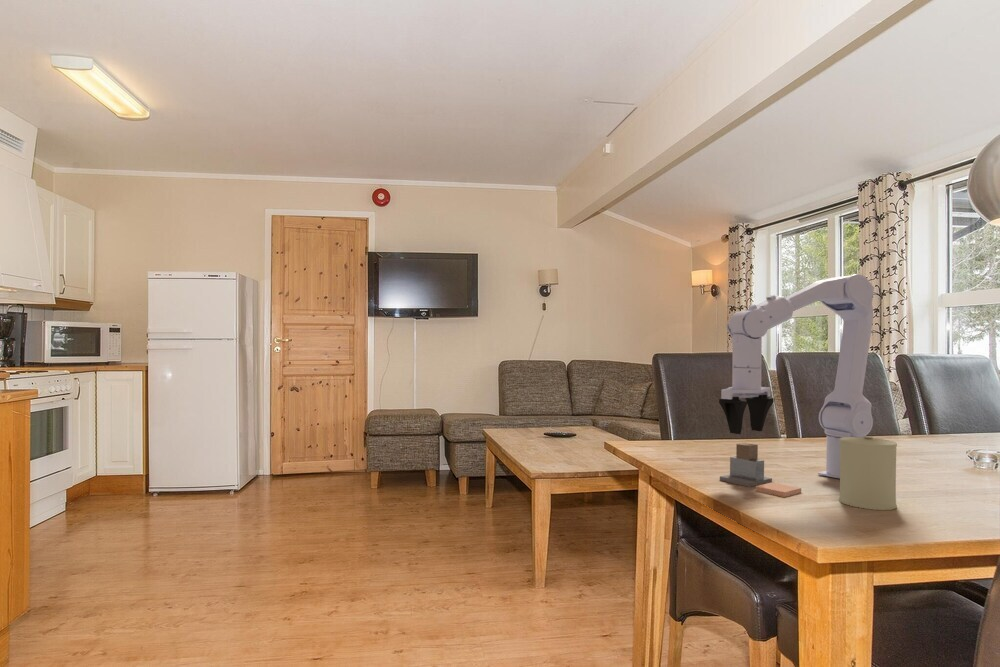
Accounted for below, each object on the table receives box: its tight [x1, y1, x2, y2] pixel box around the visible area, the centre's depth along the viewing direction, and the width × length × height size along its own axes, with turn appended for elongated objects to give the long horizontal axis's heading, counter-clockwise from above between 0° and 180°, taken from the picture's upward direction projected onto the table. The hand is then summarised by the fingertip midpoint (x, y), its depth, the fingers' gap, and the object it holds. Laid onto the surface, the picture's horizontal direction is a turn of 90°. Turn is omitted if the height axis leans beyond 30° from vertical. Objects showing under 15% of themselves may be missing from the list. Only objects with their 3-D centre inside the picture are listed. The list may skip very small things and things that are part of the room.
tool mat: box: [719, 474, 773, 488], centre depth 132 cm, size 8×7×1 cm
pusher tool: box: [729, 442, 765, 481], centre depth 132 cm, size 3×6×7 cm, turn 35°
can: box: [838, 436, 898, 511], centre depth 116 cm, size 9×9×12 cm
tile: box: [755, 481, 802, 498], centre depth 124 cm, size 1×6×6 cm
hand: (746, 432), depth 133 cm, fingers open, 7 cm apart
